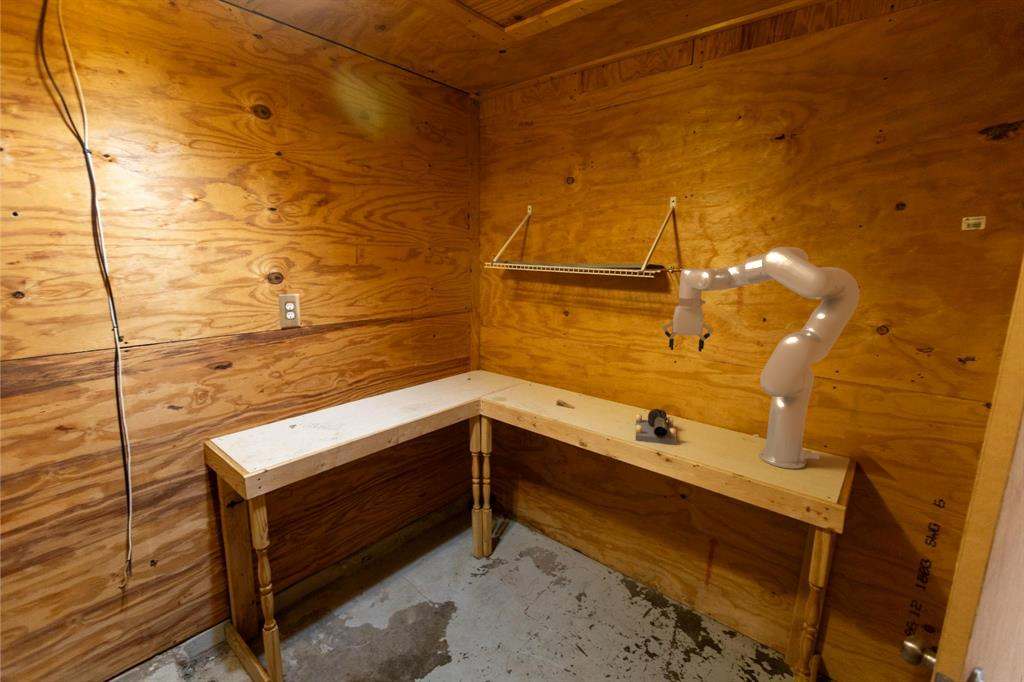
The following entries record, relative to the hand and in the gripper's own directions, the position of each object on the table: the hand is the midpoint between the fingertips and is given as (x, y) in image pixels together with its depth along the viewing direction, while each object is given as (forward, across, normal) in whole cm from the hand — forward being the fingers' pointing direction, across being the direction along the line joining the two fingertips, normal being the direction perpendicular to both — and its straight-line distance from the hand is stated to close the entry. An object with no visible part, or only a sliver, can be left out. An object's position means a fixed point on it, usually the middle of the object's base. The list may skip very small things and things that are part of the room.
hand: (685, 350), depth 167 cm
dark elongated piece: (+26, +9, +13) cm, 31 cm away
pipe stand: (+28, +10, +13) cm, 33 cm away
